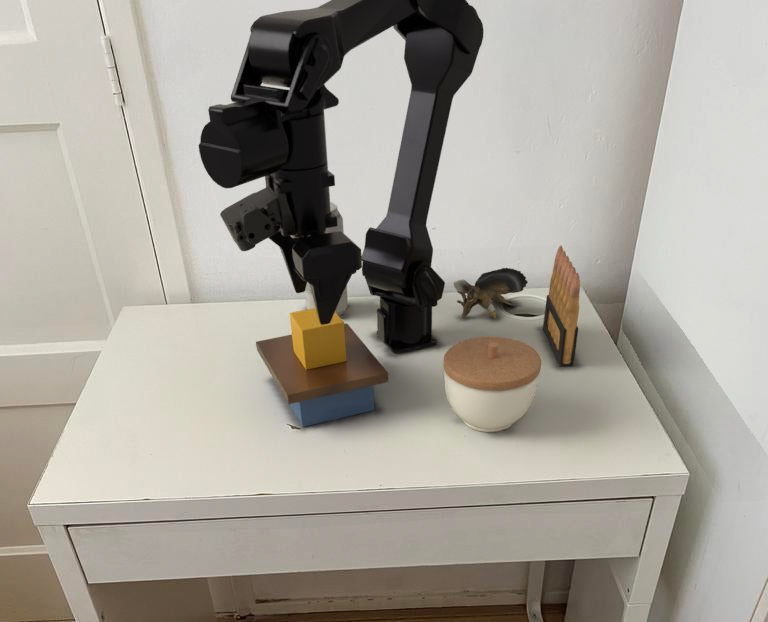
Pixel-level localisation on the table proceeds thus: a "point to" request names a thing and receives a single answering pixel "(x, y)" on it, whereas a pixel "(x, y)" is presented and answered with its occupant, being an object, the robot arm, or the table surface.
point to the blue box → (334, 406)
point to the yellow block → (317, 339)
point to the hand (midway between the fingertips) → (312, 307)
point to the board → (320, 369)
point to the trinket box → (491, 381)
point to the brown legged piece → (490, 289)
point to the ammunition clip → (562, 310)
